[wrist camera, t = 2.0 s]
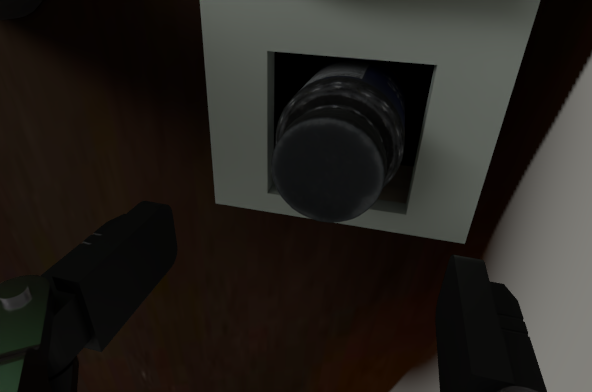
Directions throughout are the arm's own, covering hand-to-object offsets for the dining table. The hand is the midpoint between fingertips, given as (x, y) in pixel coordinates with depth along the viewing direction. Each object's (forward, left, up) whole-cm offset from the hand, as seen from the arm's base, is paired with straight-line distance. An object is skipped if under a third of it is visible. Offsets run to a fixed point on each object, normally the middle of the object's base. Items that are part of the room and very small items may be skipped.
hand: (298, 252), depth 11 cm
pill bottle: (0, 0, -17) cm, 17 cm away
